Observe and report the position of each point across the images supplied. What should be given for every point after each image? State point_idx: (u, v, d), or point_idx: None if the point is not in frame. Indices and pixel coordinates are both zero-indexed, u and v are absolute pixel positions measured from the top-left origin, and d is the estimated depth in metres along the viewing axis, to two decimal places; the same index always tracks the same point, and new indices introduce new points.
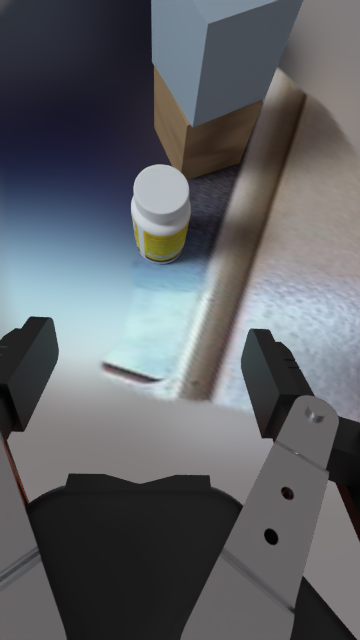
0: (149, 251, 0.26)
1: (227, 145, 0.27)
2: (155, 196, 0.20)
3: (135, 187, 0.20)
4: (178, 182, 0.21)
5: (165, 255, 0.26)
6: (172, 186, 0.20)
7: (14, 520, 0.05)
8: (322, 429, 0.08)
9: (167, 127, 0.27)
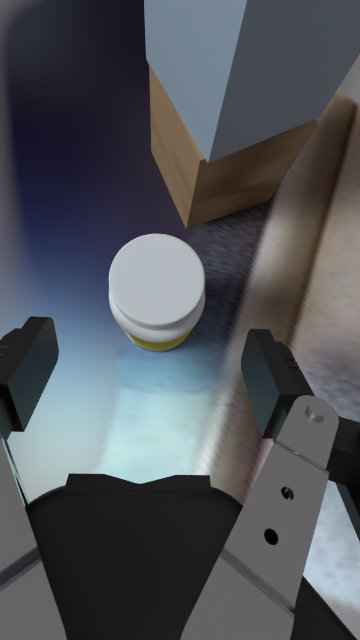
0: (140, 345, 0.17)
1: (256, 181, 0.19)
2: (146, 292, 0.12)
3: (112, 276, 0.12)
4: (186, 266, 0.12)
5: (164, 349, 0.17)
6: (176, 273, 0.12)
7: (14, 521, 0.05)
8: (322, 429, 0.08)
9: (169, 156, 0.19)
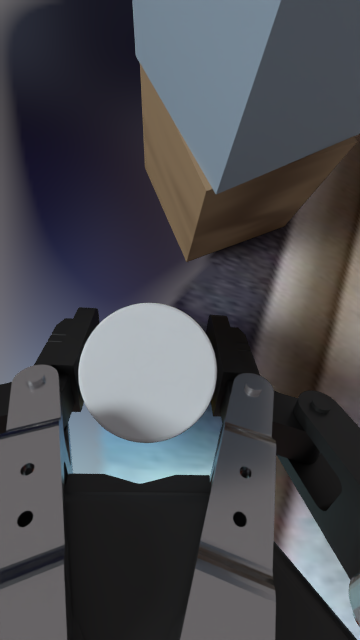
0: None
1: (272, 208, 0.15)
2: (133, 393, 0.08)
3: (82, 369, 0.08)
4: (190, 351, 0.08)
5: None
6: (175, 362, 0.08)
7: (51, 511, 0.05)
8: (255, 401, 0.08)
9: (166, 177, 0.15)
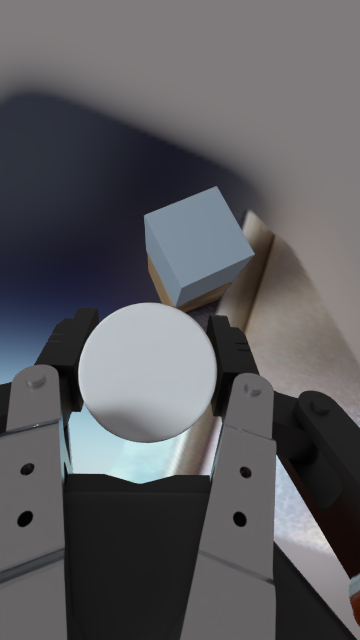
0: None
1: (205, 299, 0.34)
2: (133, 393, 0.08)
3: (82, 369, 0.08)
4: (190, 351, 0.08)
5: None
6: (176, 362, 0.08)
7: (51, 511, 0.05)
8: (255, 401, 0.08)
9: (158, 285, 0.34)
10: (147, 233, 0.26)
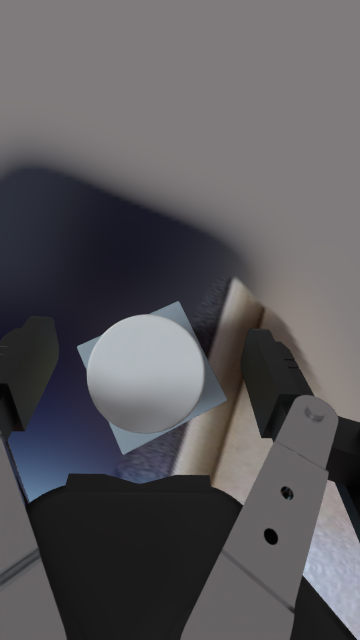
0: None
1: None
2: (132, 391, 0.09)
3: (90, 371, 0.09)
4: (182, 356, 0.10)
5: None
6: (169, 365, 0.10)
7: (14, 520, 0.05)
8: (321, 429, 0.08)
9: None
10: None
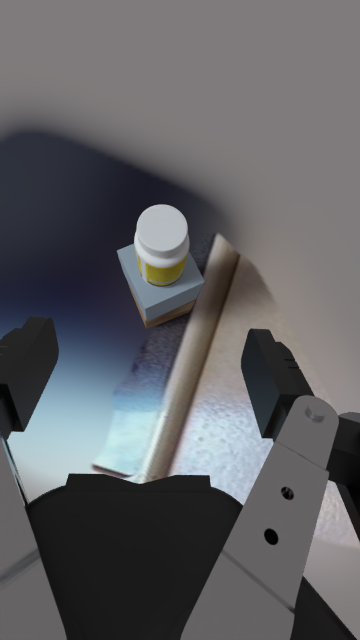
0: (150, 278, 0.28)
1: (176, 313, 0.41)
2: (156, 234, 0.22)
3: (138, 226, 0.22)
4: (177, 221, 0.23)
5: (165, 281, 0.28)
6: (172, 225, 0.22)
7: (14, 521, 0.05)
8: (322, 429, 0.08)
9: (136, 302, 0.41)
10: (121, 263, 0.33)
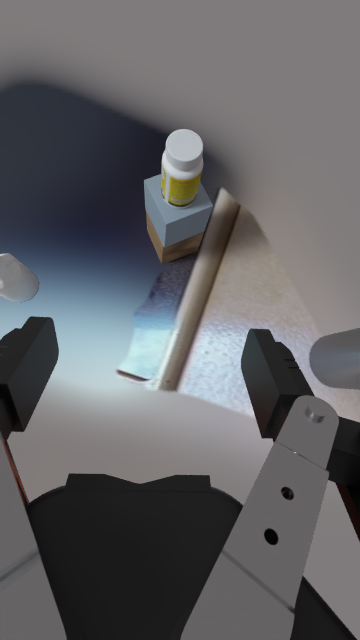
0: (172, 196, 0.36)
1: (187, 247, 0.49)
2: (180, 149, 0.30)
3: (167, 143, 0.30)
4: (195, 141, 0.31)
5: (183, 200, 0.36)
6: (191, 143, 0.31)
7: (13, 521, 0.05)
8: (322, 429, 0.08)
9: (154, 237, 0.49)
10: (146, 193, 0.41)
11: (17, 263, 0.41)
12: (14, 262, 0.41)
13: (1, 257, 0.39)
